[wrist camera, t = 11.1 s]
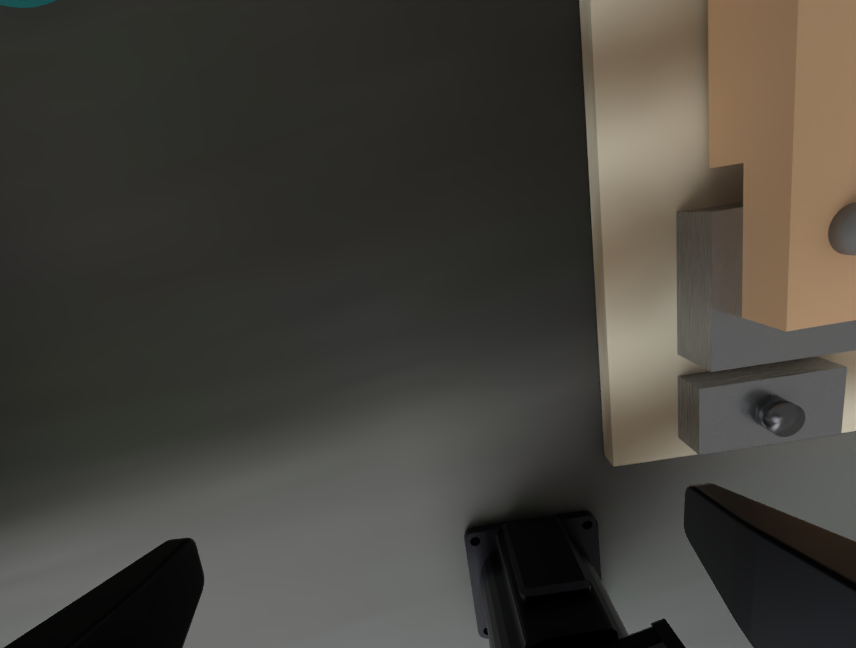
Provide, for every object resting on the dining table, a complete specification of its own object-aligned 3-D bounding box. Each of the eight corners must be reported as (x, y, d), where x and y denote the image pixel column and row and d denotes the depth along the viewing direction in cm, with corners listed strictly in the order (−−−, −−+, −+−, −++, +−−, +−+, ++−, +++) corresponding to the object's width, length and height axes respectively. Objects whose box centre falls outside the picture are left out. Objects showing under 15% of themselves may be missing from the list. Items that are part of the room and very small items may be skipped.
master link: (807, 291, 18) (936, 316, 14) (710, 307, 18) (807, 338, 14) (833, -273, 14) (1037, -509, 9) (706, -250, 14) (847, -474, 9)
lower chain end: (810, 418, 20) (860, 443, 18) (678, 437, 20) (711, 465, 18) (826, 189, 17) (886, 185, 15) (676, 212, 17) (714, 211, 15)
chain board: (852, 418, 21) (873, 428, 20) (604, 455, 21) (613, 466, 20) (945, -540, 13) (986, -599, 12) (552, -476, 13) (563, -531, 12)
